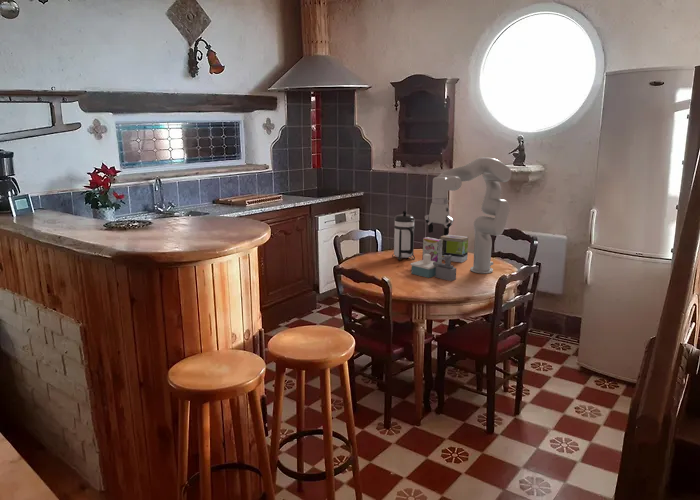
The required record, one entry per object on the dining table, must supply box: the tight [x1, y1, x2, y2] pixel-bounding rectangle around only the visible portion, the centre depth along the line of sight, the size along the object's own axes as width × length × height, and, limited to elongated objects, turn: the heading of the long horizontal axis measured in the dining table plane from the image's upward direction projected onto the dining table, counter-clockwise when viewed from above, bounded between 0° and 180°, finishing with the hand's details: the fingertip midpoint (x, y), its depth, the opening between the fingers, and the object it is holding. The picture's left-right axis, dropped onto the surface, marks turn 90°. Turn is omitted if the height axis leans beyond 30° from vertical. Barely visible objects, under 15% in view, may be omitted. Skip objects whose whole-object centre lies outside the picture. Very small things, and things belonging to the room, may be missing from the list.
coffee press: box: [391, 210, 416, 262], centre depth 338 cm, size 17×16×30 cm
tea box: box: [439, 234, 469, 263], centre depth 337 cm, size 15×10×15 cm, turn 58°
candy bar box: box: [421, 236, 443, 263], centre depth 323 cm, size 11×5×16 cm, turn 47°
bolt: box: [433, 255, 455, 269], centre depth 299 cm, size 5×12×6 cm, turn 46°
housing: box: [410, 265, 457, 282], centre depth 304 cm, size 12×24×6 cm, turn 46°
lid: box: [410, 254, 437, 269], centre depth 307 cm, size 13×13×6 cm
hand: (438, 233), depth 285 cm, fingers open, 9 cm apart
